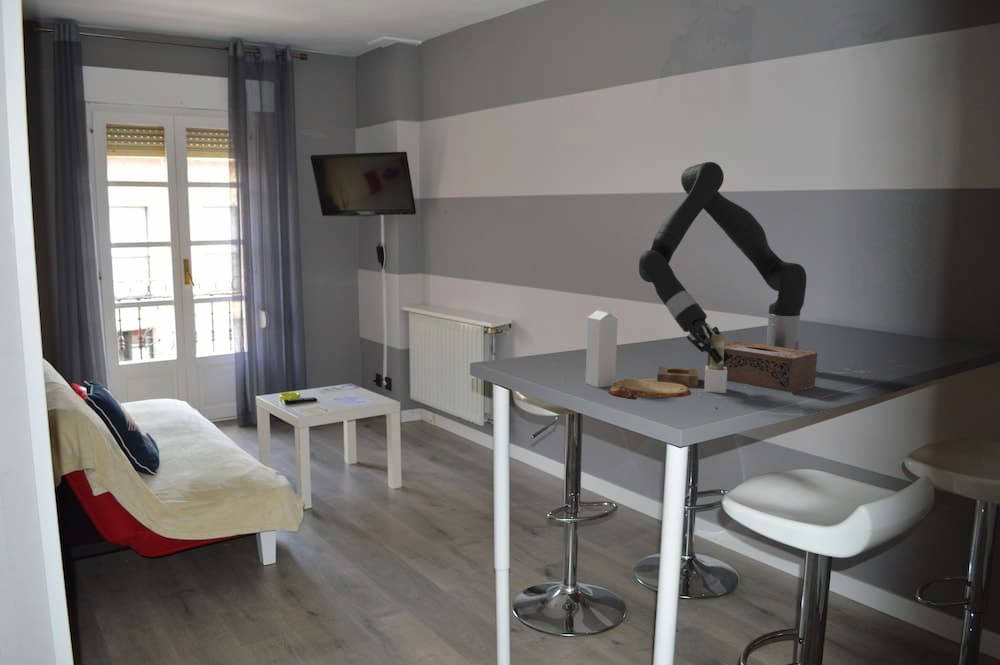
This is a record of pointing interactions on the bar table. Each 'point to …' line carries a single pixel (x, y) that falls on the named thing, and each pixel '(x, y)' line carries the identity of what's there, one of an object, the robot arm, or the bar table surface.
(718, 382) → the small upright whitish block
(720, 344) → the dowel
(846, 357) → the bar table surface
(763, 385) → the tissue box cover
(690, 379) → the socket block
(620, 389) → the bread slice
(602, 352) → the milk
